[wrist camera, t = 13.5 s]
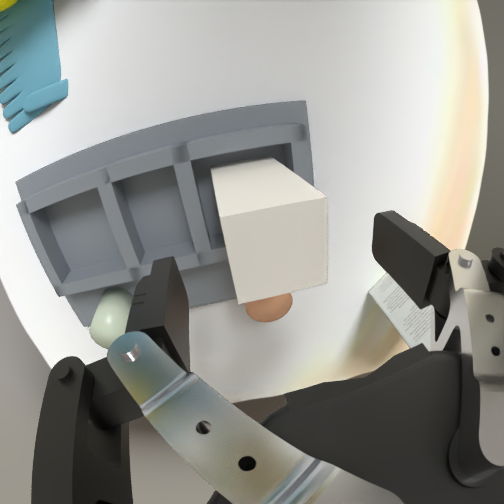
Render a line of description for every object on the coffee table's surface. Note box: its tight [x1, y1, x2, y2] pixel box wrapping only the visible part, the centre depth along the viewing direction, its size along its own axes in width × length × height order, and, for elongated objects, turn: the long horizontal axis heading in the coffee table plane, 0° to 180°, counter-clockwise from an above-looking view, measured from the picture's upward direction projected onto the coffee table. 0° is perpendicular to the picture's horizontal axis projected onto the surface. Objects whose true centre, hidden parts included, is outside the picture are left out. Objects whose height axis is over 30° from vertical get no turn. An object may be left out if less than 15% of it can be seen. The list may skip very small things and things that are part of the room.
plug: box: [210, 156, 328, 304], centre depth 15 cm, size 4×4×9 cm
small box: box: [369, 273, 433, 351], centre depth 23 cm, size 8×6×10 cm
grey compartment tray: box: [16, 101, 314, 349], centre depth 17 cm, size 14×22×5 cm, turn 99°
